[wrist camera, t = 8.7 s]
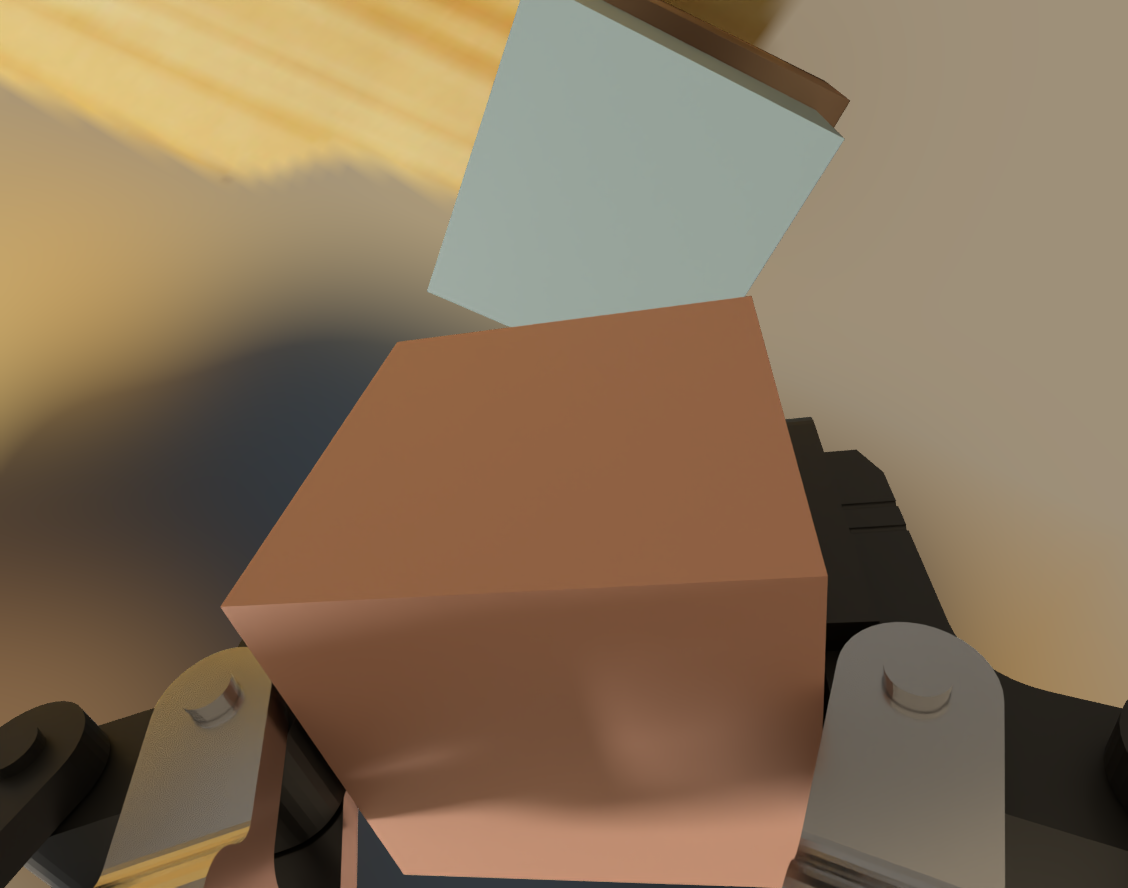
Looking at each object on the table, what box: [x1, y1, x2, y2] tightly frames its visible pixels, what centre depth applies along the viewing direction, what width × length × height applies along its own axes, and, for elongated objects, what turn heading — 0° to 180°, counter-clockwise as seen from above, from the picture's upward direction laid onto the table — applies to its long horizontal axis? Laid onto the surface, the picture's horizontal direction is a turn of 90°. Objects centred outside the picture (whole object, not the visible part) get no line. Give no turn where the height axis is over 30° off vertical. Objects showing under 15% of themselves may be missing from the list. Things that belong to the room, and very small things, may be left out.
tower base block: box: [603, 0, 850, 128], centre depth 25 cm, size 10×10×4 cm
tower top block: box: [427, 0, 844, 327], centre depth 22 cm, size 9×9×4 cm
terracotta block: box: [221, 296, 828, 888], centre depth 9 cm, size 5×5×5 cm
